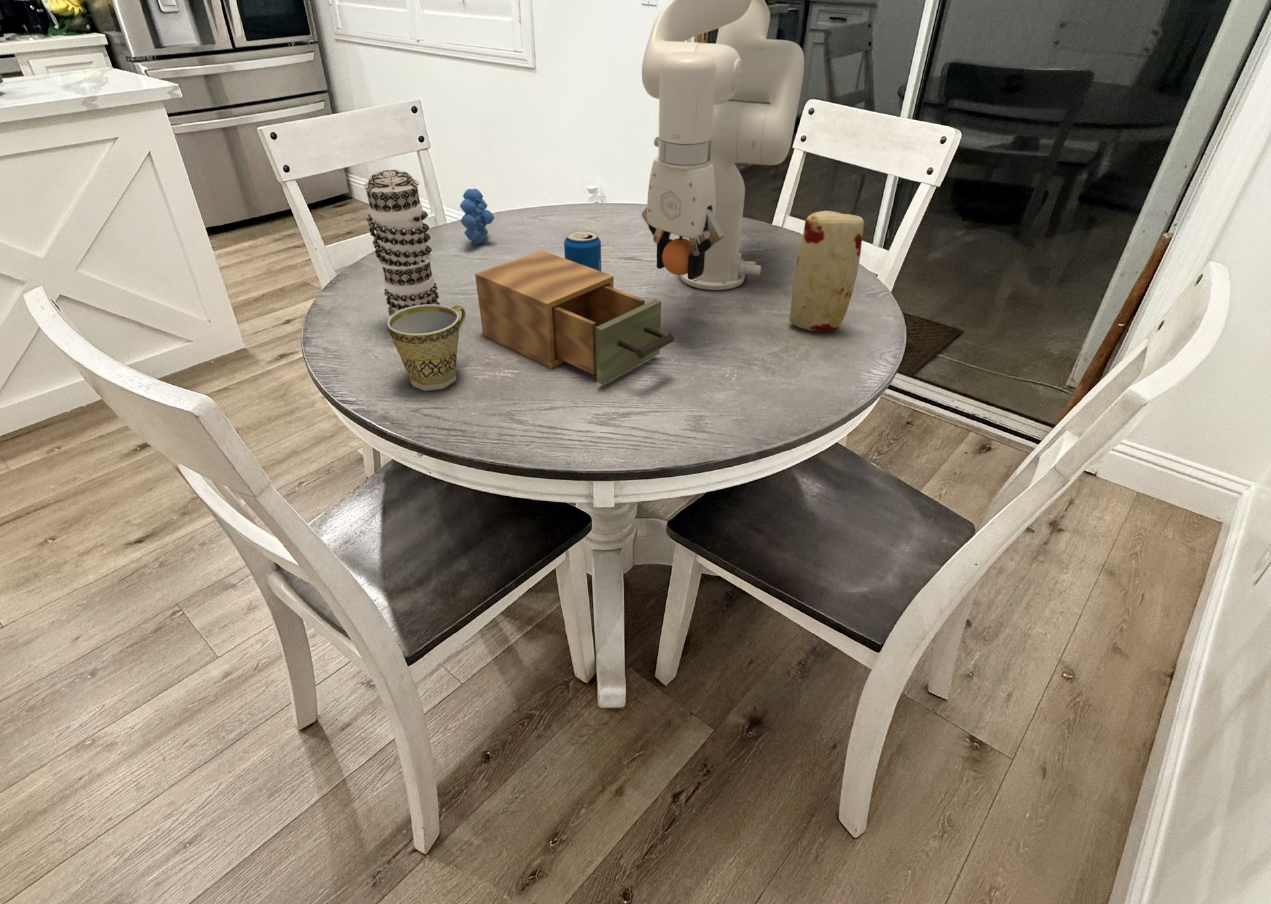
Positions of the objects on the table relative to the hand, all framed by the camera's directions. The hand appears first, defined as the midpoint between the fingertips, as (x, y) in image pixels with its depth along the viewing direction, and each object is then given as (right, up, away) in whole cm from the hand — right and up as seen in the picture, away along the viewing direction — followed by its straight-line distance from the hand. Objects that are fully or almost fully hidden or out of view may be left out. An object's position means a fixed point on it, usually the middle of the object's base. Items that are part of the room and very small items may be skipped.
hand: (679, 270), depth 112 cm
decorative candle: (-44, -7, +9) cm, 46 cm away
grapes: (-40, +16, +41) cm, 60 cm away
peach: (0, +2, -1) cm, 2 cm away
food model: (+24, -8, +10) cm, 27 cm away
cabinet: (-22, -9, +6) cm, 24 cm away
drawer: (-11, -14, -2) cm, 18 cm away
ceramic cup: (-36, -17, -4) cm, 41 cm away
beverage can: (-16, -1, +19) cm, 25 cm away
